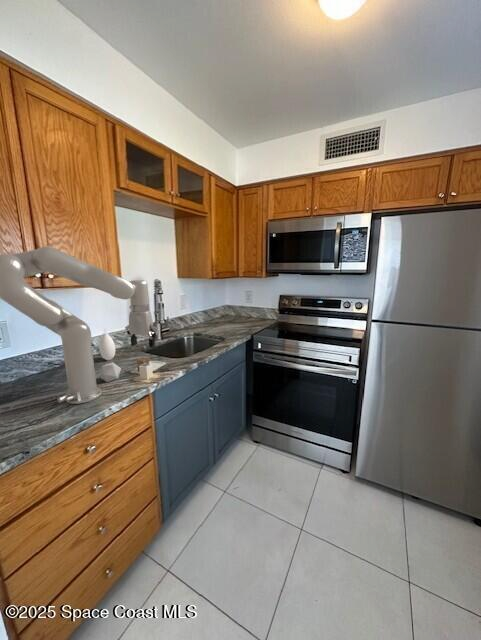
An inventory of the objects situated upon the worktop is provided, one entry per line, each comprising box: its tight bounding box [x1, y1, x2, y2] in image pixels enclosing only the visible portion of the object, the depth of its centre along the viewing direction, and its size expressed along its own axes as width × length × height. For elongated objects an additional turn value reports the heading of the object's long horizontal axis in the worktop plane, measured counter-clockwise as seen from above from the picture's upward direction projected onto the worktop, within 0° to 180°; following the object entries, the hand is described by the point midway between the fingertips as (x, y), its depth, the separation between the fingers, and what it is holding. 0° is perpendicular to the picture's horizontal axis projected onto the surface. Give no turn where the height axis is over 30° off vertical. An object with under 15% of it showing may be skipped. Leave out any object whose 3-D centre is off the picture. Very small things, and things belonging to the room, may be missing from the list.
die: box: [98, 362, 122, 383], centre depth 121 cm, size 8×9×10 cm
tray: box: [129, 360, 167, 375], centre depth 135 cm, size 16×10×1 cm, turn 162°
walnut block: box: [136, 356, 150, 372], centre depth 131 cm, size 4×4×6 cm
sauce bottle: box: [98, 329, 116, 361], centre depth 148 cm, size 8×8×18 cm
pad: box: [131, 373, 161, 384], centre depth 123 cm, size 9×9×1 cm
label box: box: [139, 363, 154, 380], centre depth 122 cm, size 4×4×6 cm
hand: (143, 346), depth 120 cm, fingers open, 9 cm apart
